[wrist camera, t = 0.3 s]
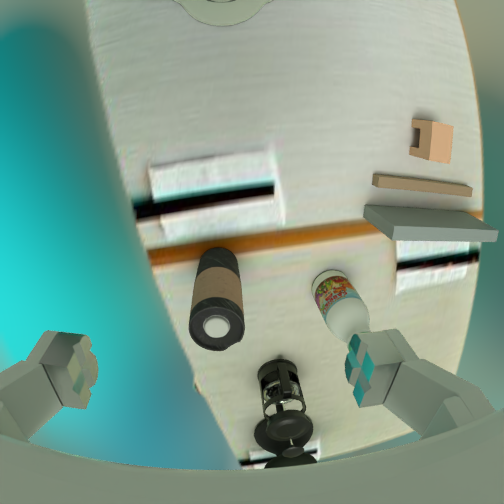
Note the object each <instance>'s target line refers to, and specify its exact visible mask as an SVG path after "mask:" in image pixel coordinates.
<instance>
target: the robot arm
mask: <svg viewBox="0 0 504 504" xmlns="http://www.w3.org/2000/svg"><path fill="white" fill-rule="evenodd" d="M174 1H176V2H178V3H180V4H181V5H182V6H183V7H184V9H185V10H186V11H187V12H188V13H189V14H190V15H191V16H192V17H193V18H195V19H196V20H198V21H200V22H203V23H206V24H209V25H215V26H227V25H234V24H238V23H241V22H243V21H245V20H247V19H249V18H251V17H252V16H253V15H255V14H256V13H257V12H258V11H259V10H260V9H261V8H262V6H263V5H265V4H266V3H268V2H270V1H273V0H174ZM91 346H92V344H91V341H90V338H89V337H88V336H87V335H83V334H75V333H66V332H57V331H49V330H48V331H45V332H44V333H43V335H42V336H41V338H40V339H39V341H38V342H37V343H36V345H35V347H34V348H33V350H32V351H31V353H30V354H29V356H28V357H27V359H26V361H20V362H18V363H16V364H15V365H13V366H11V367H10V368H8V369H6V370H4V371H2V372H1V373H0V504H504V408H502V409H500V410H498V411H495V409H494V408H493V406H492V405H491V404H490V402H489V401H488V399H487V398H486V397H485V395H484V394H483V392H482V391H481V390H480V388H479V387H477V386H475V385H473V384H472V383H469V382H468V381H466V380H463V379H462V378H460V377H458V376H456V375H454V374H452V373H450V372H448V371H446V370H444V369H442V368H440V367H438V366H437V365H435V364H433V363H431V362H429V361H427V360H425V359H419V358H418V357H417V355H416V354H415V352H414V351H413V349H412V348H411V347H410V345H409V344H408V342H407V341H406V339H405V338H404V337H403V335H402V334H401V333H400V331H399V330H397V329H390V330H382V331H377V332H368V333H357V334H353V336H352V338H351V341H350V346H351V348H352V350H351V351H350V352H349V353H348V354H347V356H346V360H345V374H346V378H347V380H348V383H350V384H351V385H353V386H354V390H353V395H354V397H355V399H356V402H357V404H358V406H359V408H361V407H368V406H375V405H381V404H383V406H385V407H386V408H387V409H388V410H390V411H391V412H392V413H393V414H395V415H396V416H397V417H398V418H400V419H401V420H402V421H403V422H405V423H406V424H407V425H408V426H410V427H411V428H412V429H413V430H415V431H416V432H417V433H419V434H420V435H421V438H420V439H419V441H416V442H412V443H409V444H405V445H402V446H398V447H394V448H390V449H386V450H382V451H378V452H374V453H369V454H365V455H361V456H356V457H350V458H345V459H340V460H334V461H328V462H321V463H314V464H307V465H299V466H290V467H279V468H267V469H250V470H186V469H169V468H156V467H146V466H137V465H129V464H122V463H115V462H108V461H103V460H97V459H92V458H87V457H82V456H77V455H73V454H68V453H64V452H60V451H56V450H52V449H48V448H44V447H41V446H37V445H34V444H31V443H30V441H29V440H28V439H29V438H30V437H31V436H32V435H33V434H34V433H35V432H36V431H37V430H39V429H40V428H41V427H42V426H43V425H44V424H45V423H46V422H47V421H48V420H50V419H51V418H52V417H53V416H54V415H55V414H56V413H57V412H59V410H61V409H62V408H63V407H62V406H65V407H72V408H78V409H86V408H87V405H88V402H89V399H90V396H91V392H90V390H89V388H90V387H92V386H93V385H95V383H96V380H97V377H98V363H97V359H96V356H95V355H94V354H93V353H92V352H91V351H90V348H91Z"/></svg>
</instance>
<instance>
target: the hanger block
mask: <svg viewBox="0 0 504 504" xmlns="http://www.w3.org/2000/svg"><path fill="white" fill-rule="evenodd" d="M412 127H413V128H418V129H420V140H419V148H416V147H410V151H409V155H412V156H416V157H420V158H423V159H426V160H430V161H436V162H442V163H448V164H450V159H451V149H452V139H453V126H450V125H447V124H443V123H439V122H434V121H427V120H416V119H412Z"/></svg>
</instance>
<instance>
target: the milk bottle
mask: <svg viewBox="0 0 504 504" xmlns="http://www.w3.org/2000/svg"><path fill="white" fill-rule="evenodd" d="M312 294H313V297H314V299H315V301H316V303H317V306H318V308H319V310H320V312H321V314H322V316H323V318H324V320H325V323H326V324H327V326H328V328H329V330H330V331H331V332H332V334H333V335H334V336H336V337H337V338H338V339H340V340H342V341H344V342H345V343H347V348H348V349H349V352H350V351H351V350H352V348H351V346H350V341H351V338H352V336H353V334H357V333H368V332H371V331H370V329H369V322H370V319H369V313H368V310H367V307H366V305H365V304H364V302H363V300H362V299H361V297H360V296H359V294H358V293H357V291H356V290H355V289H354V287H353V286H352V284H351V283H350V281H349V280H348V278H347V277H346V276H345V275H344V274H343V273H341V272H339V271H335V270H331V271H326V272H324V273H322V274H321V275H319V276H318V277H317V278H316V280H315V281H314V283H313V287H312Z"/></svg>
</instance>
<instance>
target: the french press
mask: <svg viewBox="0 0 504 504" xmlns="http://www.w3.org/2000/svg"><path fill="white" fill-rule="evenodd" d="M274 371H277V372H278V377H279V379H278V380H275V381H272V382H271V383H268V382H266V381H265V380H264V377H265V376H266V375H267V374H269V373H271V372H274ZM288 371H290V372H292V375H291V377H290V378H289V374H288ZM258 380H259V384H260V391H261V398H262V405H263V413H264V417H265V418H266V419H267V420H268V422H267V425H268V426H267V429H266V433H267V435H268V437H270V438H271V439H274V440H278V441H288V440H290V443H291V445H290V447H289V448H287V449H285V450H284V451H283V452H282V455H283V456H284V457H296V456H299V455H301V454H302V453H303V452H304V448H302V447H299V446H294V445H293V444H292V440H293V439H296V438H299V437H301V436H303V435H304V434H306V433H307V432H308V431H309V429H310V426H311V424H310V421H309V420H308V419H307V418H306V415H305V414H304V413H305V411H306V405H305V401H304V398H303V394H302V390H301V387H300V383H299V379H298V375H297V368H296V366H295V365H294V364H293V363H292V362H290V361H288V360H284V359H277V360H272V361H269V362H267V363H265V364H264V365H263V366H261V368H260V369H259V371H258ZM298 395H300V396H298ZM294 399H296V400H299V401H301V402H302V406H303V408H302V410H301V411H298V410H285V405H284V404H285V403H288V402H291V401H292V400H294ZM264 400H265V401H266V403H265V405H264ZM271 404H276V410H277V413H276V414H274V415H273V416H271V417H269V416H268V415H266V413H265V410H266V408H267V407H268V406H269V405H271Z"/></svg>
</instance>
